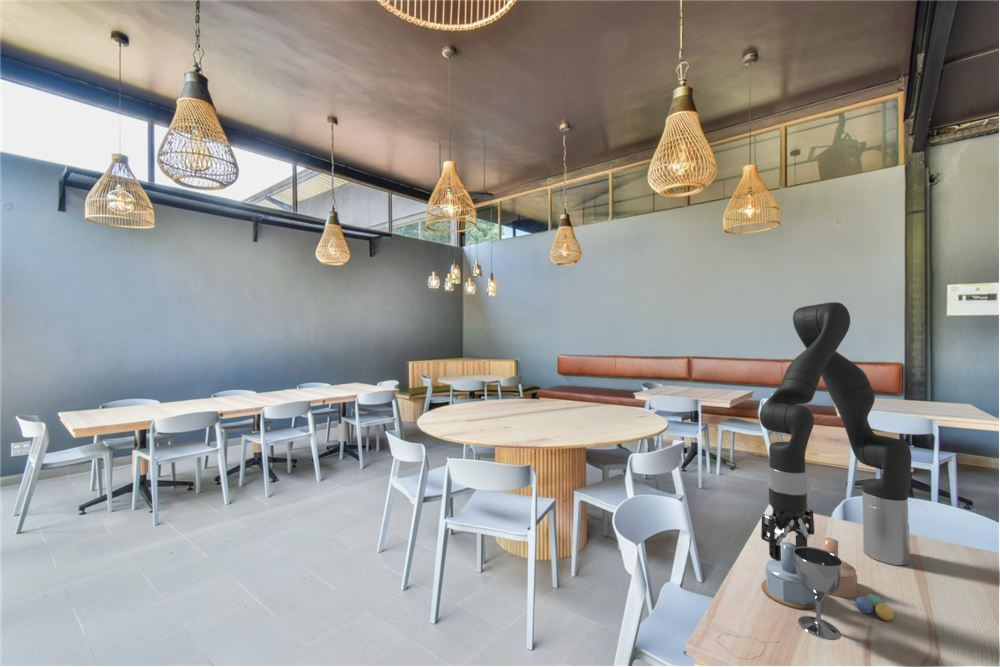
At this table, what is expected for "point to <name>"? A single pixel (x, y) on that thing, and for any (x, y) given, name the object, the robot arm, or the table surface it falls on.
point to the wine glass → (818, 586)
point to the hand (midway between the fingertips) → (788, 555)
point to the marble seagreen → (874, 600)
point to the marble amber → (884, 611)
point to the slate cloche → (786, 578)
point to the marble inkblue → (864, 605)
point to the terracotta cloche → (843, 572)
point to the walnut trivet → (786, 603)
